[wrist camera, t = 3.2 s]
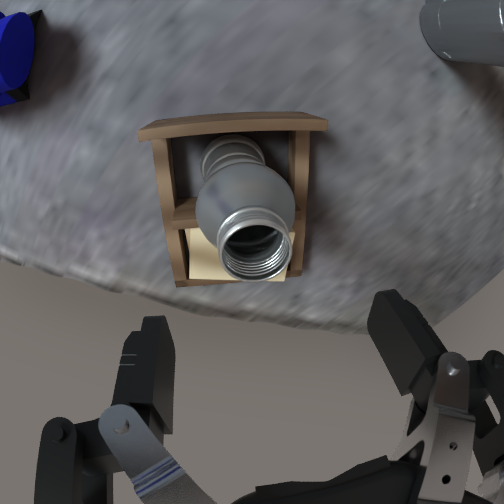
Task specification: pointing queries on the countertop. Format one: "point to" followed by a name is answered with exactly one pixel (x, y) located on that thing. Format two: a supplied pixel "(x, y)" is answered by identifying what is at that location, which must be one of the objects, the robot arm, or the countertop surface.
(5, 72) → the alarm clock
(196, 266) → the offcut top
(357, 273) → the countertop surface
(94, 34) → the countertop surface
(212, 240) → the silver metal bottle
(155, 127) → the walnut rack
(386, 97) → the countertop surface
